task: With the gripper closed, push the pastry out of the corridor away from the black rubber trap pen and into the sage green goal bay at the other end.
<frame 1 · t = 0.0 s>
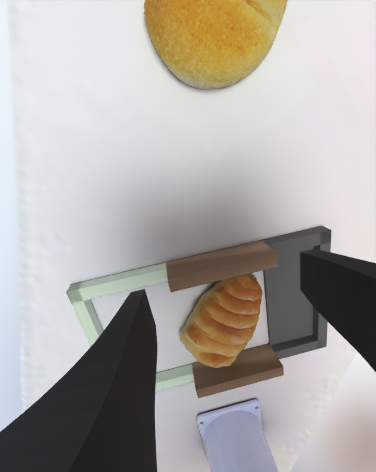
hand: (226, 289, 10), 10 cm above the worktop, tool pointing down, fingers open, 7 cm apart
trap pen: (293, 294, 24), on the worktop
goal bay: (139, 333, 23), on the worktop
bread roll: (211, 14, 15), on the worktop
corridor: (224, 312, 23), on the worktop
pastry: (217, 310, 24), on the worktop
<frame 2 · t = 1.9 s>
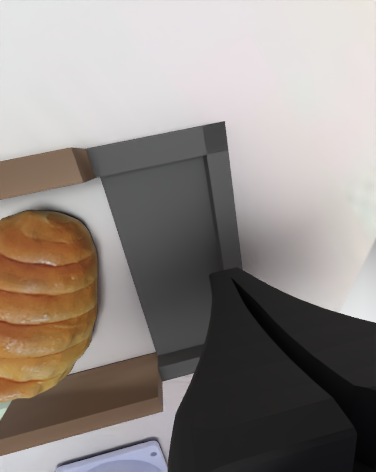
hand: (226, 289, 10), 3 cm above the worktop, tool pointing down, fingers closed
trap pen: (184, 265, 13), on the worktop
corridor: (54, 296, 13), on the worktop
pastry: (39, 292, 13), on the worktop
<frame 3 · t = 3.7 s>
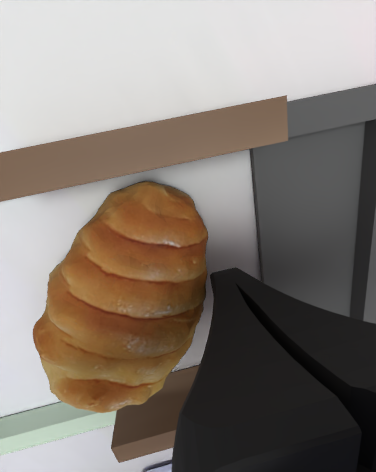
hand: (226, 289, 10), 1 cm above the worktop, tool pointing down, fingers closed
trap pen: (315, 250, 12), on the worktop
corridor: (174, 284, 11), on the worktop
pastry: (128, 283, 12), on the worktop, touching gripper
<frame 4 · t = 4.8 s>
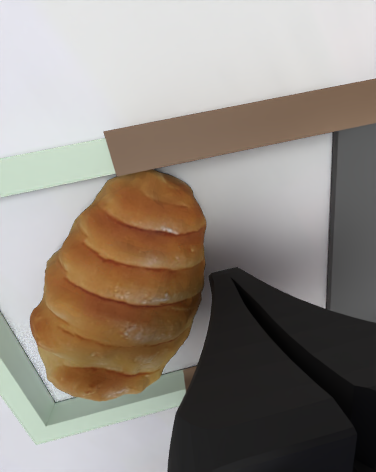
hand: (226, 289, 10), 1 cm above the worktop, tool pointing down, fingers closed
goal bay: (75, 308, 11), on the worktop
corridor: (246, 267, 12), on the worktop
pastry: (126, 274, 11), on the worktop
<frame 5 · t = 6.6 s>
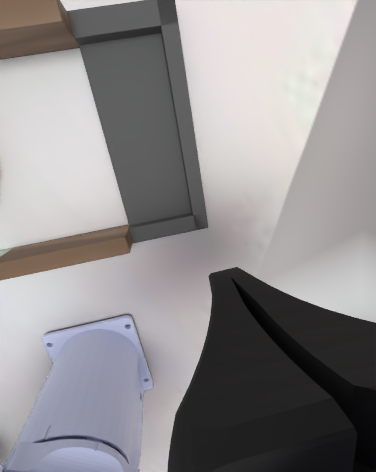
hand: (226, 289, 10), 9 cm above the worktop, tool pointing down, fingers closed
trap pen: (150, 139, 16), on the worktop
corridor: (43, 158, 16), on the worktop
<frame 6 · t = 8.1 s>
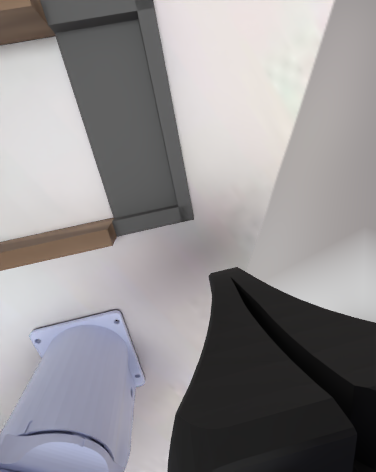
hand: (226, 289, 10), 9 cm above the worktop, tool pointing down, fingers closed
trap pen: (132, 130, 16), on the worktop
corridor: (23, 151, 16), on the worktop
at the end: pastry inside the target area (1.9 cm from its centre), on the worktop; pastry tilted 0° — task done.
